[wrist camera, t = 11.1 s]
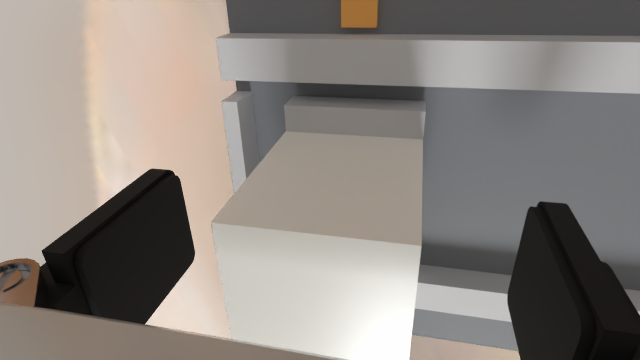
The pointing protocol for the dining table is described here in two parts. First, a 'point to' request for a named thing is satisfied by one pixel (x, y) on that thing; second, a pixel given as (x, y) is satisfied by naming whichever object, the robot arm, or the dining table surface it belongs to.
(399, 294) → the fader tab
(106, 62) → the dining table surface
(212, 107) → the dining table surface
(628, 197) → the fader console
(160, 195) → the robot arm
